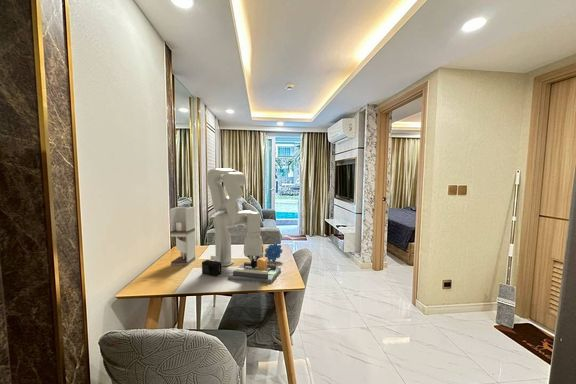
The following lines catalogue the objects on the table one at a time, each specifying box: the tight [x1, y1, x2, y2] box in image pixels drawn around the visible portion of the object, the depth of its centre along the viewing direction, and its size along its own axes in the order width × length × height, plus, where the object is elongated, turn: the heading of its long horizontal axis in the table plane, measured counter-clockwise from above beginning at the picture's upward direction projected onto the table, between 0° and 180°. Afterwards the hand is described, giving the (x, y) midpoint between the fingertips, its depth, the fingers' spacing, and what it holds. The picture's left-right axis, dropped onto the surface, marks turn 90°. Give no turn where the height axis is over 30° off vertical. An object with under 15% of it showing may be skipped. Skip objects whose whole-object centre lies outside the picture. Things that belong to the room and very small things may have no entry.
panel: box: [227, 264, 282, 284], centre depth 141 cm, size 24×18×3 cm
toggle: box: [257, 257, 269, 271], centre depth 140 cm, size 6×5×7 cm
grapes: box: [264, 242, 283, 262], centre depth 167 cm, size 12×7×12 cm, turn 94°
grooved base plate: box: [232, 261, 277, 278], centre depth 141 cm, size 19×16×3 cm
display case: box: [169, 206, 196, 266], centre depth 163 cm, size 11×11×35 cm
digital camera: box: [201, 259, 222, 277], centre depth 142 cm, size 10×5×7 cm, turn 65°
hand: (254, 267), depth 141 cm, fingers closed
